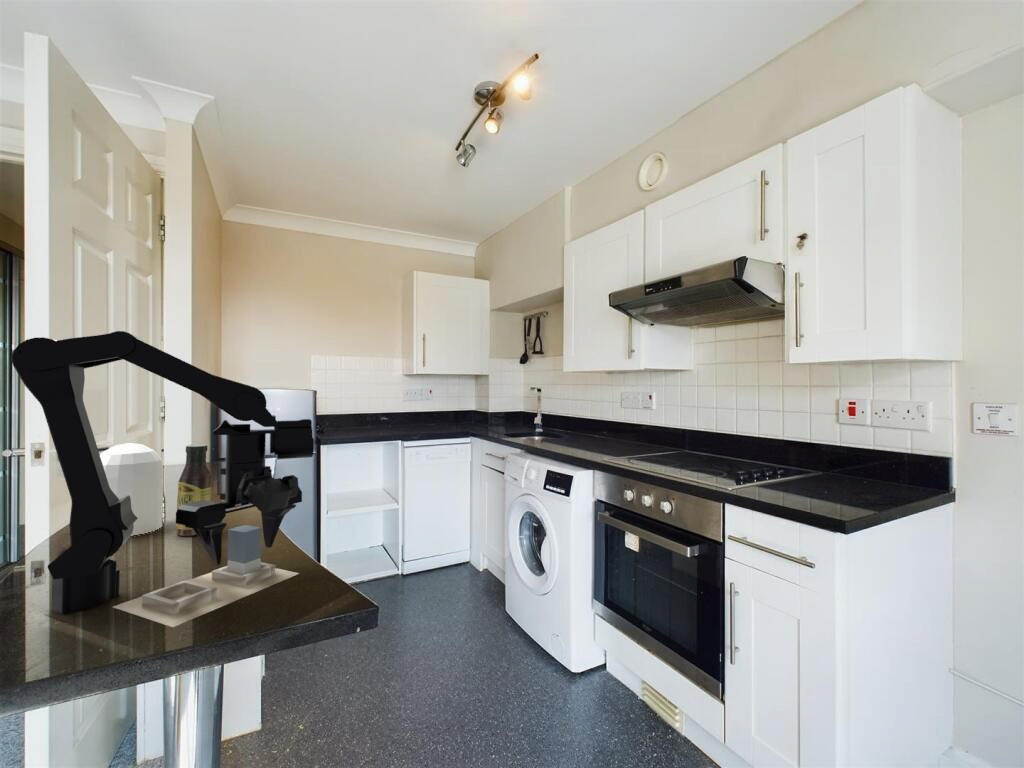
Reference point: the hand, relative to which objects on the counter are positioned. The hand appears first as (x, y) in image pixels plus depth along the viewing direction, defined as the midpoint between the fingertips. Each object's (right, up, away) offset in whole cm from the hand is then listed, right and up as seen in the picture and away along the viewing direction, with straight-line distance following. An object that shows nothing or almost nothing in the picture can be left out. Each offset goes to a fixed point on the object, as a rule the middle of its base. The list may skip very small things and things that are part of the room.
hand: (244, 555), depth 77 cm
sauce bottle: (-27, -5, +27) cm, 39 cm away
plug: (0, -4, 0) cm, 4 cm away
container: (-44, -5, +29) cm, 53 cm away
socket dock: (-2, -4, -5) cm, 7 cm away
